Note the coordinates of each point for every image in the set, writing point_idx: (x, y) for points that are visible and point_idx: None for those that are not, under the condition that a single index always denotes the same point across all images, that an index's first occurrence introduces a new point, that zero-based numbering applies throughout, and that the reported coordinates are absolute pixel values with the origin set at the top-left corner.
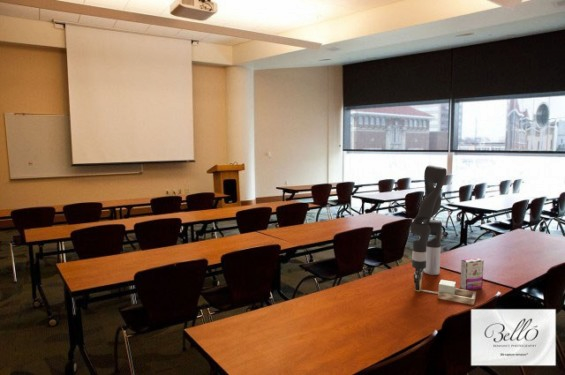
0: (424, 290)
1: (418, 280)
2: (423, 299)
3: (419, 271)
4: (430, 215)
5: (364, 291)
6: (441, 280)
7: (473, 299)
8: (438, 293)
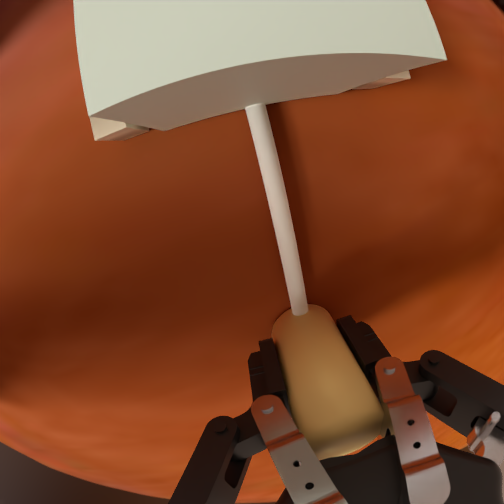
0: (302, 278)
1: (481, 373)
2: (459, 197)
3: (494, 487)
4: None
5: (435, 432)
6: (152, 67)
7: None
8: (404, 75)
